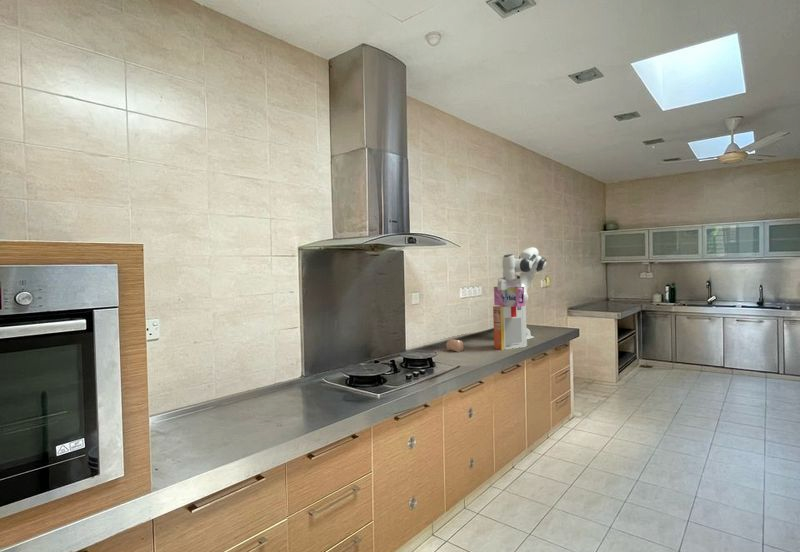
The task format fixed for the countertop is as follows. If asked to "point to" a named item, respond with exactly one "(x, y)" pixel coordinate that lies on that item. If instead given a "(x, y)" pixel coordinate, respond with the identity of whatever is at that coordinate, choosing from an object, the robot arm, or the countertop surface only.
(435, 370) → the countertop surface
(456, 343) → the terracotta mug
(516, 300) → the pink purple package
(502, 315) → the pasta box
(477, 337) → the countertop surface
